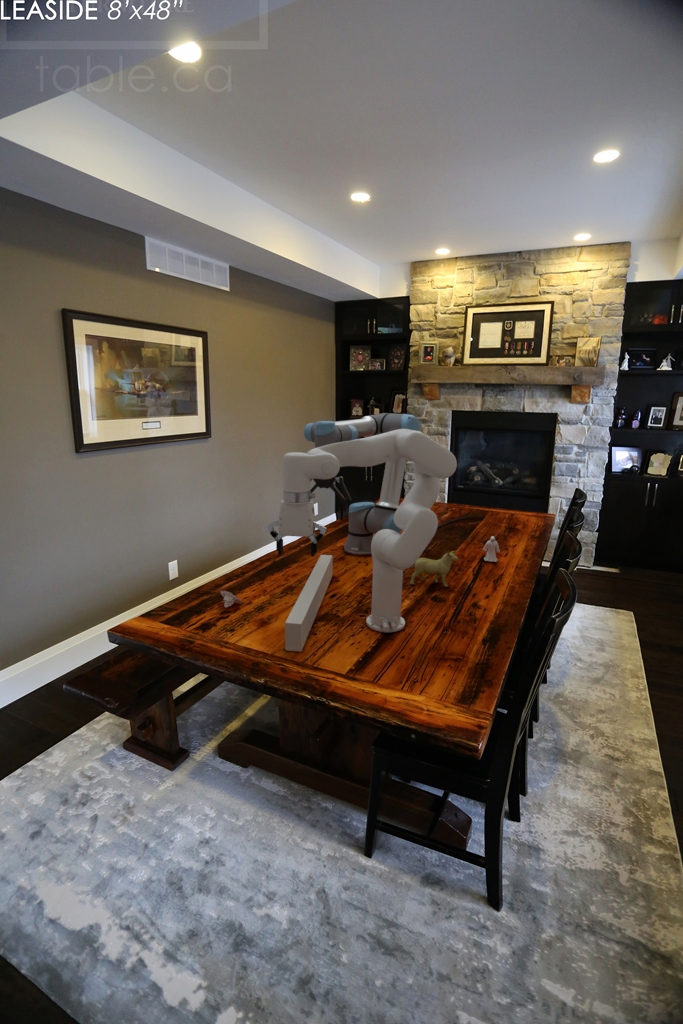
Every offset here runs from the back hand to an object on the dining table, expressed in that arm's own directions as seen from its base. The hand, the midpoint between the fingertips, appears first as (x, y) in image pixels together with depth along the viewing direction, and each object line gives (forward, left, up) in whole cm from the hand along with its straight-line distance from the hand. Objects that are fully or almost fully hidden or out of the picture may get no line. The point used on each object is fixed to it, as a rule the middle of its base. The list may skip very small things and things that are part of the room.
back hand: (324, 518), depth 191 cm
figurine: (-72, +34, -26) cm, 84 cm away
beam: (+19, +14, -26) cm, 35 cm away
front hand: (+38, +28, +2) cm, 47 cm away
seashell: (+39, -6, -26) cm, 47 cm away
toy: (-28, +32, -26) cm, 50 cm away
